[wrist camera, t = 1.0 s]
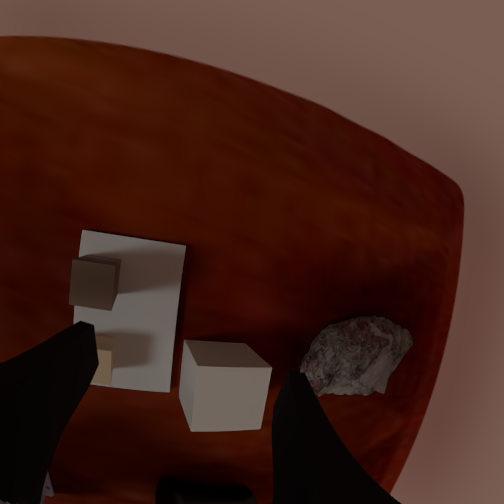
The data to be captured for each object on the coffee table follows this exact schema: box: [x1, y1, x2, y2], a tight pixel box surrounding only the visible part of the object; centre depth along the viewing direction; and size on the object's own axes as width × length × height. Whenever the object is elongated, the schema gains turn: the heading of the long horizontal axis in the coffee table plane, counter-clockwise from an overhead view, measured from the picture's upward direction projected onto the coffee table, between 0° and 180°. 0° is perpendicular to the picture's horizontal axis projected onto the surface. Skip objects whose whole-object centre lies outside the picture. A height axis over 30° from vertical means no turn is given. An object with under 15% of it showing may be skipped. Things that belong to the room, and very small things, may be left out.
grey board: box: [74, 230, 186, 392], centre depth 21 cm, size 12×8×4 cm, turn 171°
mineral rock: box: [299, 316, 414, 396], centre depth 28 cm, size 15×8×4 cm, turn 73°
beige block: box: [179, 339, 272, 431], centre depth 22 cm, size 5×5×6 cm
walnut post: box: [69, 254, 121, 311], centre depth 18 cm, size 3×3×6 cm
